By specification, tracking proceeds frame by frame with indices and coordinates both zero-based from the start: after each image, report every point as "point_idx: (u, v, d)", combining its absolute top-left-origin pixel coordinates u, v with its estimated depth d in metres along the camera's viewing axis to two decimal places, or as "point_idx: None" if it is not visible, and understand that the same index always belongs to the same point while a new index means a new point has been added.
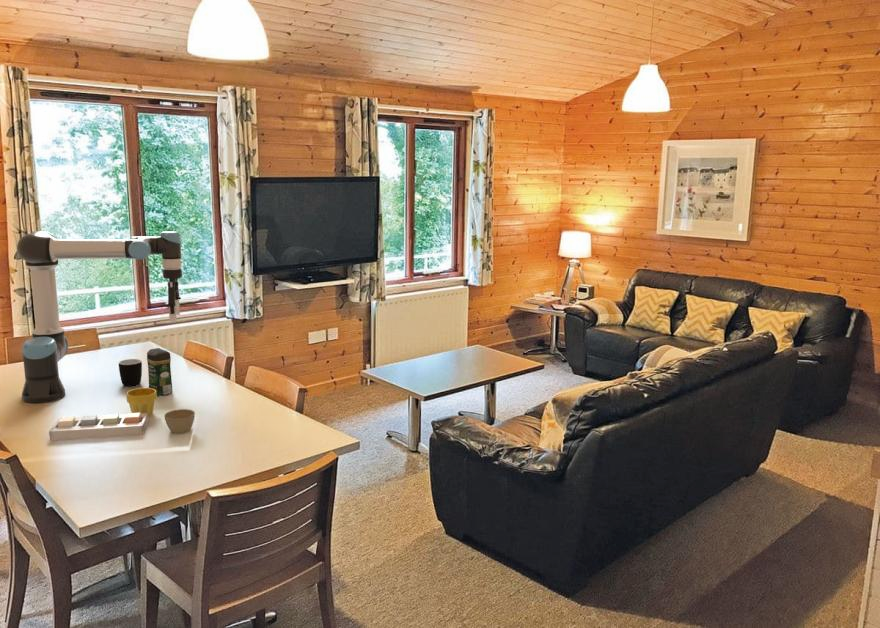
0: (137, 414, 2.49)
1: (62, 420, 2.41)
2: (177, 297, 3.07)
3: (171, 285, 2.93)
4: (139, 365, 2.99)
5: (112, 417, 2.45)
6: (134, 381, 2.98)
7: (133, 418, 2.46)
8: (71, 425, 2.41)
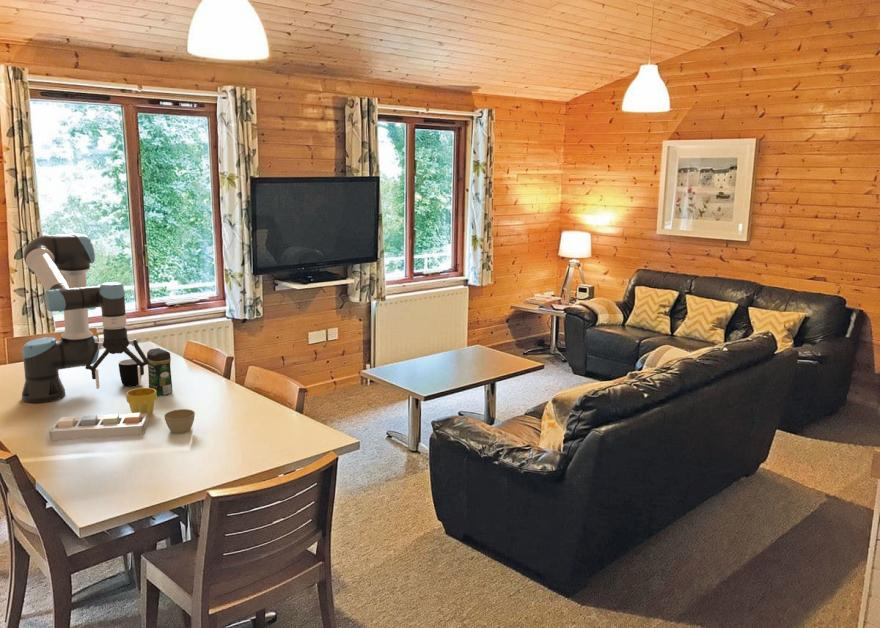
0: (137, 414, 2.49)
1: (62, 420, 2.41)
2: (137, 363, 2.51)
3: (94, 345, 2.46)
4: None
5: (112, 417, 2.45)
6: (134, 381, 2.98)
7: (133, 418, 2.46)
8: (71, 425, 2.41)
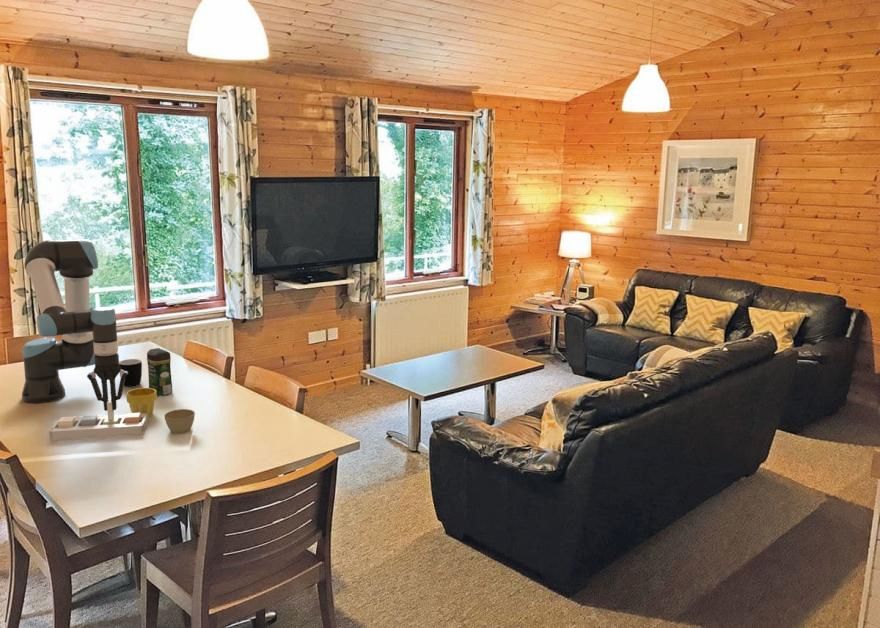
0: (137, 414, 2.49)
1: (62, 420, 2.41)
2: (111, 396, 2.44)
3: None
4: (139, 365, 2.99)
5: (112, 420, 2.46)
6: (134, 381, 2.98)
7: (133, 418, 2.46)
8: (71, 425, 2.41)
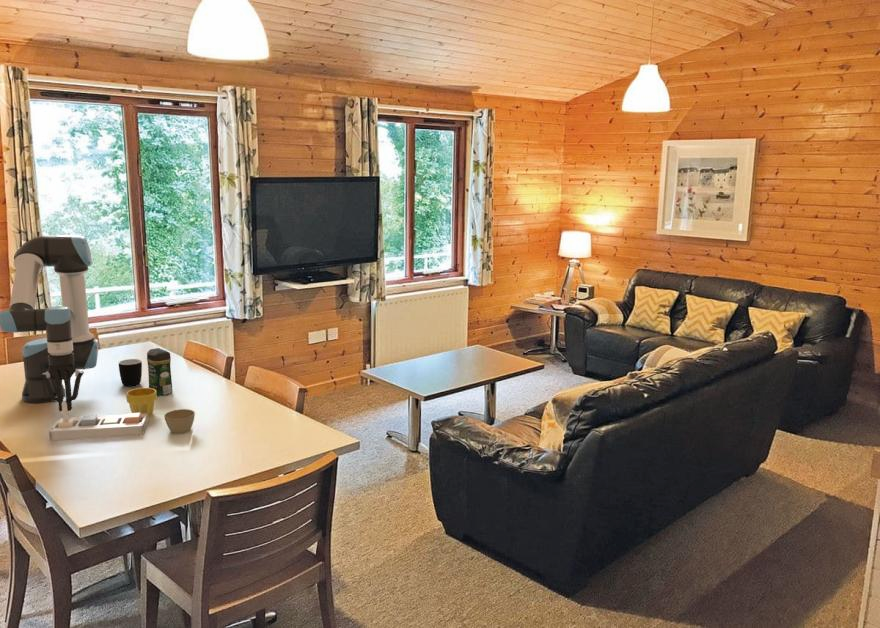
0: (137, 414, 2.49)
1: (62, 421, 2.41)
2: (66, 396, 2.40)
3: None
4: (139, 365, 2.99)
5: (112, 421, 2.46)
6: (134, 381, 2.98)
7: (133, 418, 2.46)
8: (71, 426, 2.41)
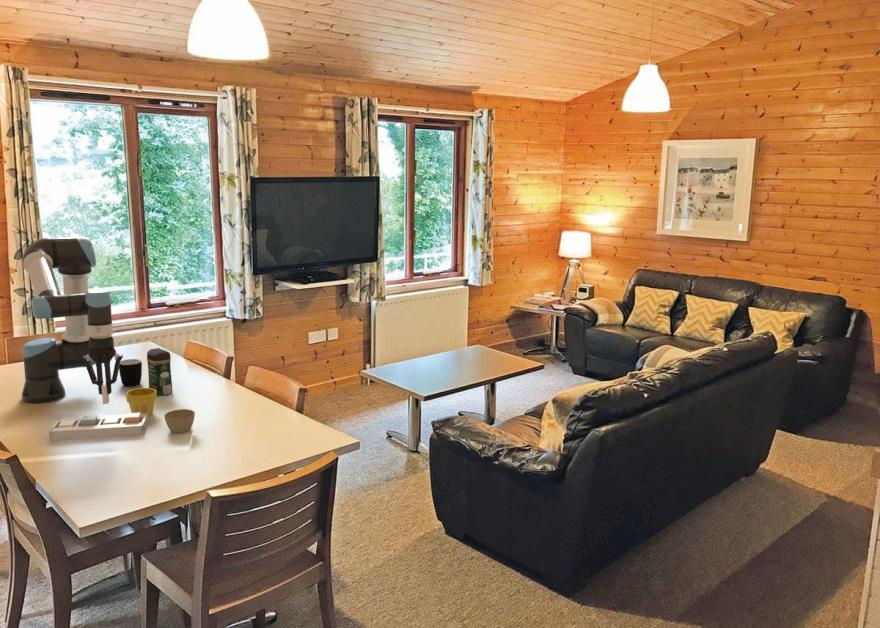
0: (137, 414, 2.49)
1: (62, 424, 2.42)
2: None
3: None
4: (139, 365, 2.99)
5: (112, 421, 2.46)
6: (134, 381, 2.98)
7: (133, 418, 2.46)
8: None
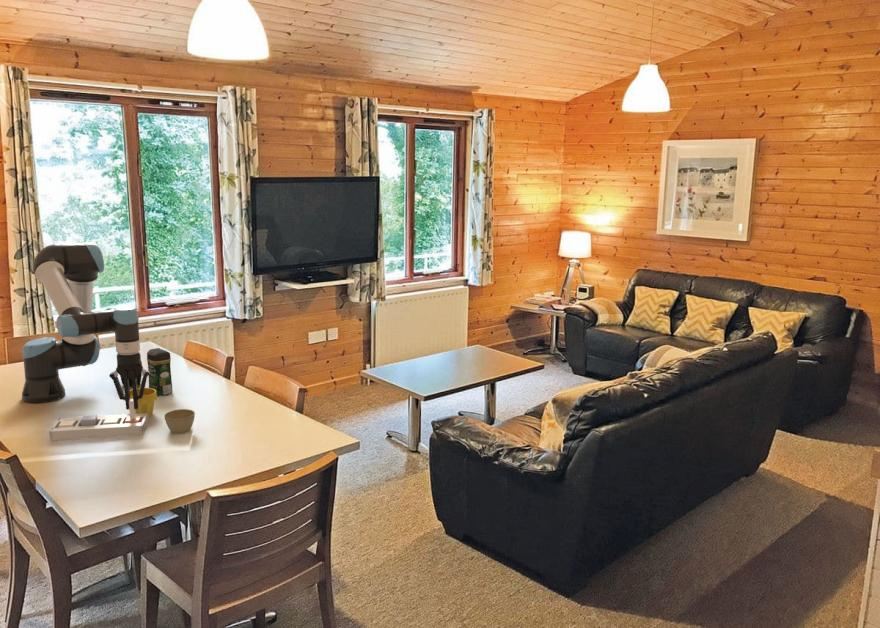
0: (137, 417, 2.49)
1: (62, 424, 2.42)
2: (133, 395, 2.46)
3: None
4: None
5: (112, 421, 2.46)
6: None
7: (134, 422, 2.46)
8: None
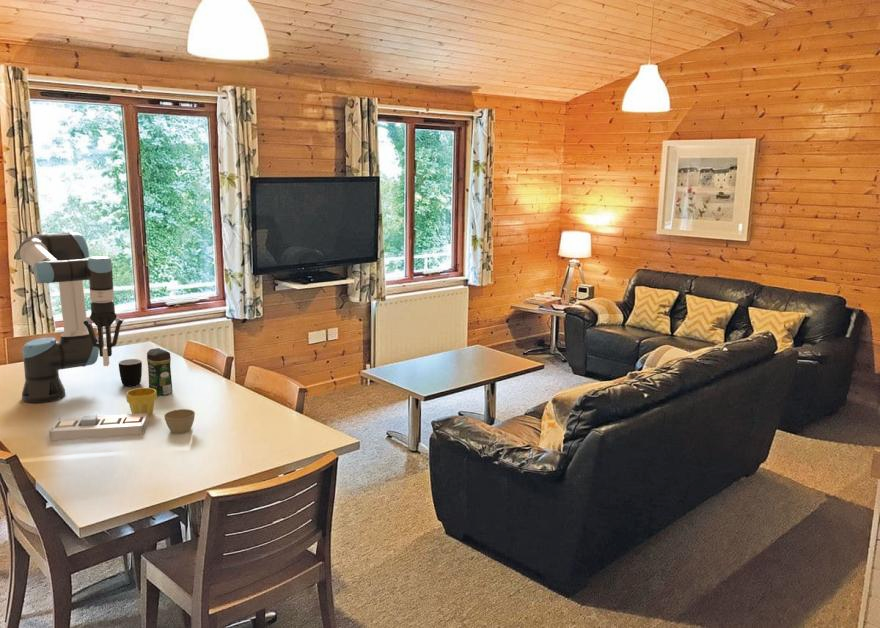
0: (137, 418, 2.49)
1: (62, 424, 2.42)
2: None
3: None
4: (139, 365, 2.99)
5: (112, 421, 2.46)
6: (134, 381, 2.98)
7: (134, 422, 2.46)
8: None
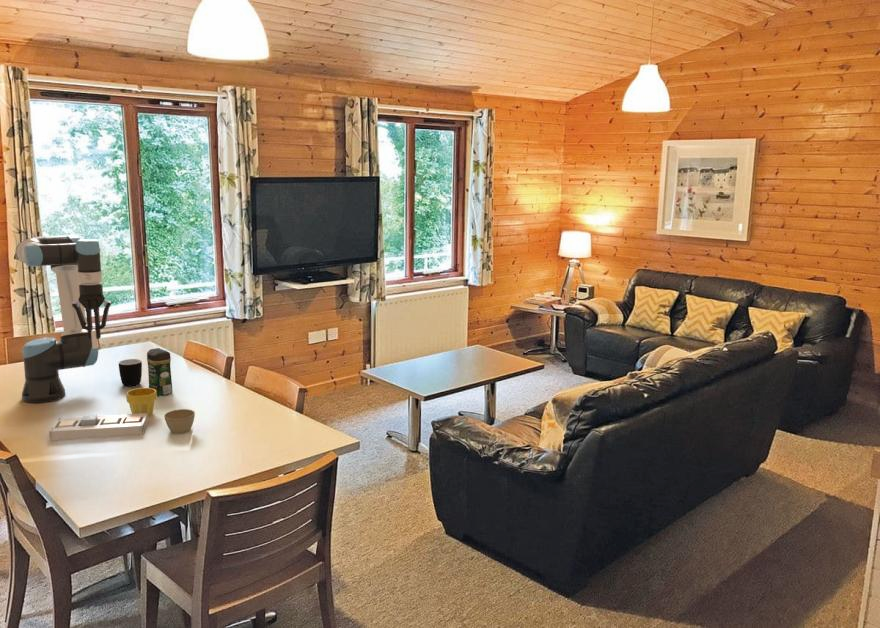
0: (137, 418, 2.49)
1: (62, 424, 2.42)
2: (95, 325, 2.55)
3: None
4: (139, 365, 2.99)
5: (112, 421, 2.46)
6: (134, 381, 2.98)
7: (134, 422, 2.46)
8: None
